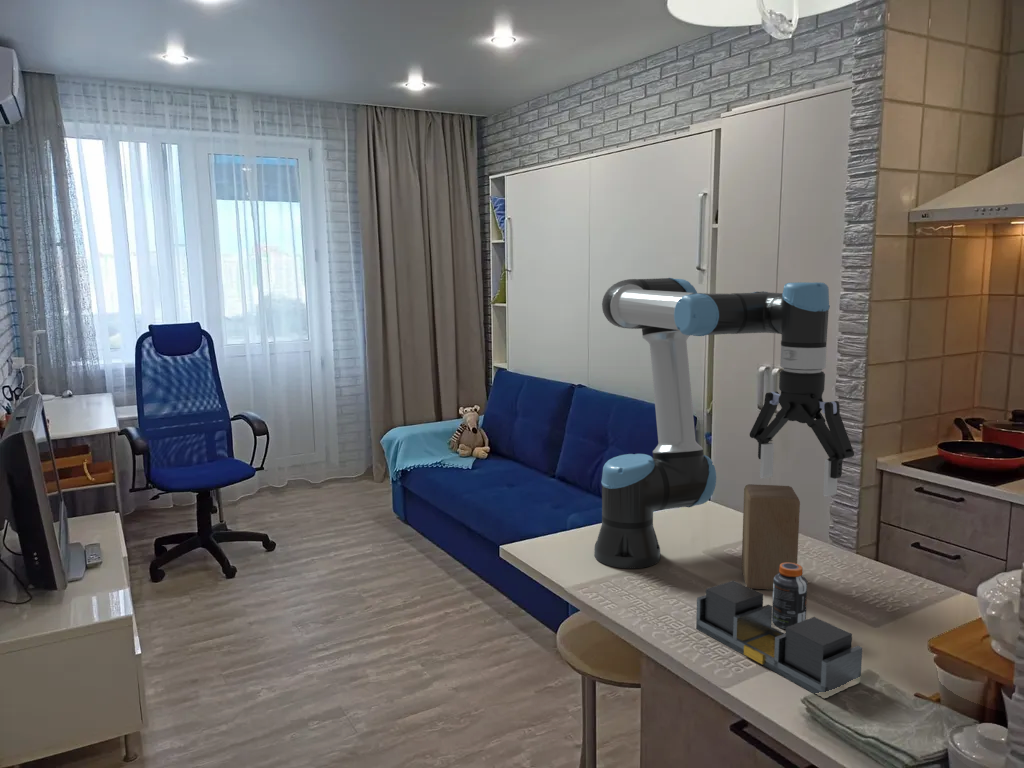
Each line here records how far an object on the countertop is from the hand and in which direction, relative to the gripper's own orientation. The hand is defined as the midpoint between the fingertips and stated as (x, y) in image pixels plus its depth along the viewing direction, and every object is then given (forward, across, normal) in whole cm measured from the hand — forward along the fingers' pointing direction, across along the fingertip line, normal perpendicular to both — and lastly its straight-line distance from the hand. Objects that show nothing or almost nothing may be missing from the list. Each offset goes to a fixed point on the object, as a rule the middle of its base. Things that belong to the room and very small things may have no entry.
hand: (796, 486), depth 134 cm
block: (+27, -15, +12) cm, 33 cm away
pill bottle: (+27, 0, 0) cm, 27 cm away
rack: (+26, +6, -12) cm, 30 cm away
